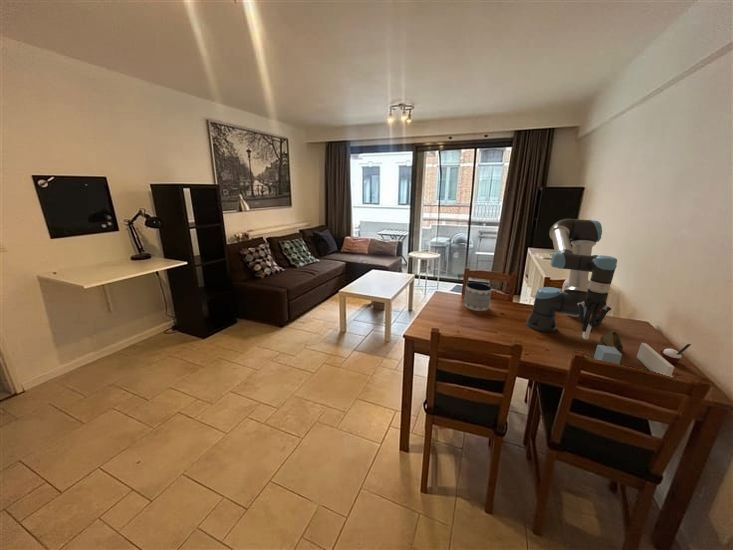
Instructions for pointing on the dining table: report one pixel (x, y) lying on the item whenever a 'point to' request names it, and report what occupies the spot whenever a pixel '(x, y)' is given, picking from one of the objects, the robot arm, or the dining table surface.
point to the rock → (612, 340)
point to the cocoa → (673, 354)
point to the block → (607, 354)
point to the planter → (477, 296)
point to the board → (654, 360)
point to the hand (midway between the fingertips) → (585, 337)
